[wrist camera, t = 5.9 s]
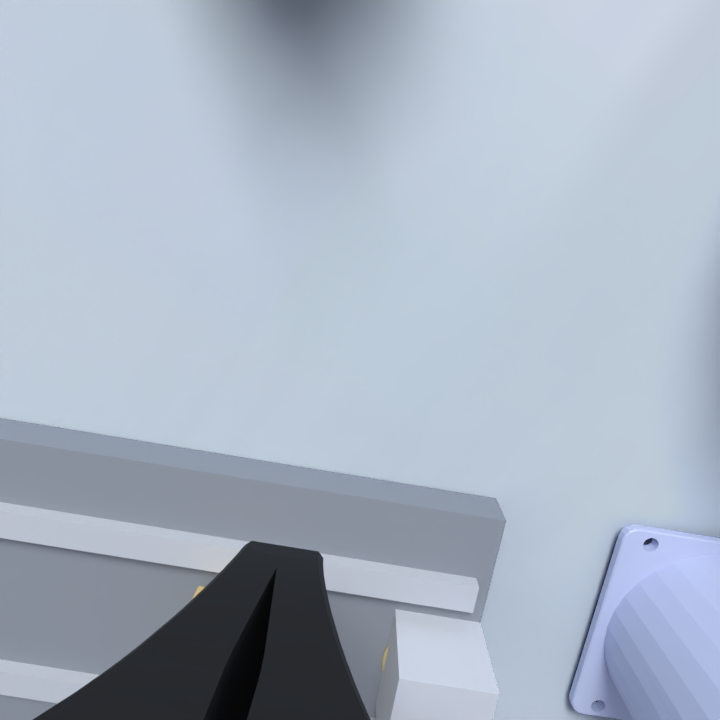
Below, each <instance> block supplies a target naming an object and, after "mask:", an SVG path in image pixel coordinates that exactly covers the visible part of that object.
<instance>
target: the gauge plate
mask: <svg viewBox="0 0 720 720" xmlns="http://www.w3.org/2000/svg"><path fill="white" fill-rule="evenodd" d="M505 523H506V519H505V517H504V515H503V513H502V511H501V508H500V506H499V504H498V502H497V500H496V499H495V498H489V497H482V496H476V495H470V494H464V493H458V492H452V491H445V490H439V489H433V488H427V487H421V486H415V485H408V484H402V483H396V482H390V481H384V480H377V479H371V478H365V477H359V476H353V475H347V474H340V473H334V472H328V471H322V470H316V469H310V468H303V467H297V466H291V465H285V464H279V463H273V462H266V461H260V460H254V459H248V458H242V457H235V456H229V455H223V454H217V453H211V452H205V451H198V450H192V449H186V448H180V447H174V446H168V445H161V444H155V443H149V442H143V441H137V440H131V439H124V438H118V437H112V436H106V435H100V434H94V433H87V432H81V431H75V430H69V429H63V428H56V427H50V426H44V425H38V424H32V423H26V422H19V421H13V420H7V419H1V418H0V720H33V719H34V718H36V717H37V716H39V715H40V714H42V713H44V712H45V711H47V710H48V709H50V708H51V707H53V706H54V705H56V704H58V703H59V702H61V701H62V700H64V699H65V698H67V697H68V696H70V695H71V694H73V693H75V692H76V691H78V690H79V689H80V688H82V687H83V686H85V685H86V684H88V683H89V682H90V681H92V680H93V679H95V678H96V677H98V676H99V675H100V674H102V673H103V672H105V671H106V670H107V669H109V668H110V667H111V666H113V665H114V664H116V663H117V662H118V661H120V660H121V659H122V658H123V657H125V656H126V655H127V654H129V653H130V652H131V651H133V650H134V649H135V648H136V647H138V646H139V645H140V644H141V643H143V642H144V641H145V640H146V639H147V638H149V637H150V636H151V635H152V634H153V633H154V632H156V631H157V630H158V629H159V628H160V627H162V626H163V625H164V624H165V623H166V622H168V621H169V620H170V619H171V618H172V617H174V616H175V615H176V614H177V613H178V612H179V611H180V610H181V609H183V608H184V607H185V606H186V605H187V604H188V603H189V602H190V601H191V600H192V598H193V596H194V594H195V592H196V590H197V588H198V586H203V587H206V586H207V585H208V584H209V583H210V582H211V581H212V580H213V579H214V578H215V577H216V576H217V575H218V574H219V573H220V572H221V571H222V570H223V569H224V568H225V567H226V566H227V564H228V563H229V562H230V561H231V560H232V559H233V558H234V557H235V556H236V555H237V553H238V552H239V551H240V550H241V549H242V548H243V546H244V545H246V544H247V543H249V542H250V541H257V542H263V543H269V544H275V545H282V546H288V547H294V548H300V549H307V550H313V551H319V553H320V554H321V555H322V557H323V558H324V559H323V569H324V579H325V585H326V590H327V595H328V600H329V604H330V608H331V612H332V616H333V619H334V623H335V626H336V629H337V633H338V636H339V640H340V643H341V646H342V649H343V652H344V655H345V658H346V660H347V663H348V666H349V668H350V671H351V674H352V676H353V679H354V682H355V684H356V687H357V689H358V692H359V694H360V696H361V699H362V701H363V703H364V706H365V708H366V710H367V713H368V715H369V717H370V719H371V720H493V717H494V713H495V709H496V706H497V702H498V698H499V695H500V694H499V690H498V687H497V683H496V679H495V676H494V672H493V668H492V664H491V661H490V657H489V653H488V649H487V646H486V642H485V638H484V635H483V631H482V627H481V623H480V622H481V618H482V614H483V610H484V606H485V602H486V598H487V594H488V590H489V586H490V582H491V578H492V574H493V570H494V566H495V562H496V558H497V554H498V550H499V546H500V542H501V539H502V535H503V531H504V527H505Z"/></svg>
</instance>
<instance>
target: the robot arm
mask: <svg viewBox="0 0 720 720" xmlns="http://www.w3.org/2000/svg"><path fill="white" fill-rule="evenodd" d="M649 538H653V540H652V542H651V543H650V544H648V545H643V543H644V542H645V540H647V539H649ZM323 559H324V558H323V557H322V555H321V554H320V553H319V551H313V550H307V549H300V548H294V547H288V546H282V545H275V544H269V543H263V542H257V541H250V542H249V543H247V544H246V545H244V546H243V548H242V549H241V550H240V551H239V552H238V553H237V555H236V556H235V557H234V558H233V559H232V560H231V561H230V562H229V563H228V564H227V566H226V567H225V568H224V569H223V570H222V571H221V572H220V573H219V574H218V575H217V576H216V577H215V578H214V579H213V580H212V581H211V582H210V583H209V584H208V585H207V586H206V587H205V588H204V589H203V590H202V591H201V592H199V593H198V594H197V595H196V596H195V597H194V598H193V599H192V600H191V601H190V602H189V603H188V604H187V605H186V606H185V607H184V608H183V609H181V610H180V611H179V612H178V613H177V614H176V615H175V616H174V617H172V618H171V619H170V620H169V621H168V622H166V623H165V624H164V625H163V626H162V627H160V628H159V629H158V630H157V631H156V632H154V633H153V634H152V635H151V636H150V637H149V638H147V639H146V640H145V641H144V642H143V643H141V644H140V645H139V646H138V647H136V648H135V649H134V650H133V651H131V652H130V653H129V654H127V655H126V656H125V657H123V658H122V659H121V660H120V661H118V662H117V663H116V664H114V665H113V666H111V667H110V668H109V669H107V670H106V671H105V672H103V673H102V674H100V675H99V676H98V677H96V678H95V679H93V680H92V681H90V682H89V683H88V684H86V685H85V686H83V687H82V688H80V689H79V690H78V691H76V692H75V693H73V694H71V695H70V696H68V697H67V698H65V699H64V700H62V701H61V702H59V703H58V704H56V705H54V706H53V707H51V708H50V709H48V710H47V711H45V712H44V713H42V714H40V715H39V716H37V717H36V718H34V719H33V720H371V719H370V717H369V715H368V713H367V710H366V708H365V706H364V703H363V701H362V699H361V696H360V694H359V692H358V689H357V687H356V684H355V682H354V679H353V676H352V674H351V671H350V668H349V666H348V663H347V660H346V658H345V655H344V652H343V649H342V646H341V643H340V640H339V636H338V633H337V629H336V626H335V623H334V619H333V616H332V612H331V608H330V604H329V600H328V595H327V590H326V585H325V579H324V569H323ZM569 700H570V702H571V705H572V707H573V709H574V710H575V711H576V712H579V713H581V714H588V715H594V716H600V717H607V718H613V719H620V720H720V538H716V537H710V536H704V535H698V534H691V533H685V532H679V531H673V530H667V529H660V528H654V527H648V526H642V525H629V526H626V527H624V528H623V529H622V530H621V531H620V533H619V535H618V539H617V542H616V545H615V548H614V551H613V555H612V558H611V561H610V564H609V568H608V571H607V574H606V577H605V581H604V584H603V587H602V590H601V593H600V597H599V600H598V603H597V606H596V610H595V613H594V616H593V619H592V623H591V626H590V629H589V632H588V635H587V639H586V642H585V645H584V648H583V652H582V655H581V658H580V661H579V665H578V668H577V671H576V674H575V677H574V681H573V684H572V687H571V690H570V694H569ZM598 700H599V701H598ZM595 701H598V702H596V703H593V702H595Z"/></svg>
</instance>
